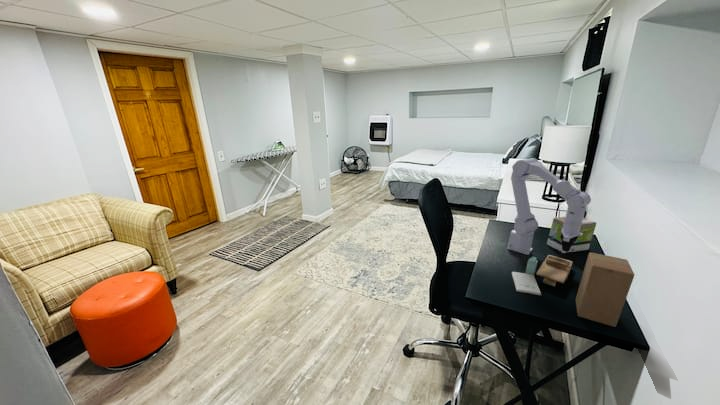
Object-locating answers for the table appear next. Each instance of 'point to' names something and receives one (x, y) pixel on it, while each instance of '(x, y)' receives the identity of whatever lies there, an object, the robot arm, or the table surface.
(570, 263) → the tan shallow box
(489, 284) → the table surface
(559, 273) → the lid
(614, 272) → the wooden block
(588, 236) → the tea box
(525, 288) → the external hard drive
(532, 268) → the teal stepped block
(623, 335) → the table surface
